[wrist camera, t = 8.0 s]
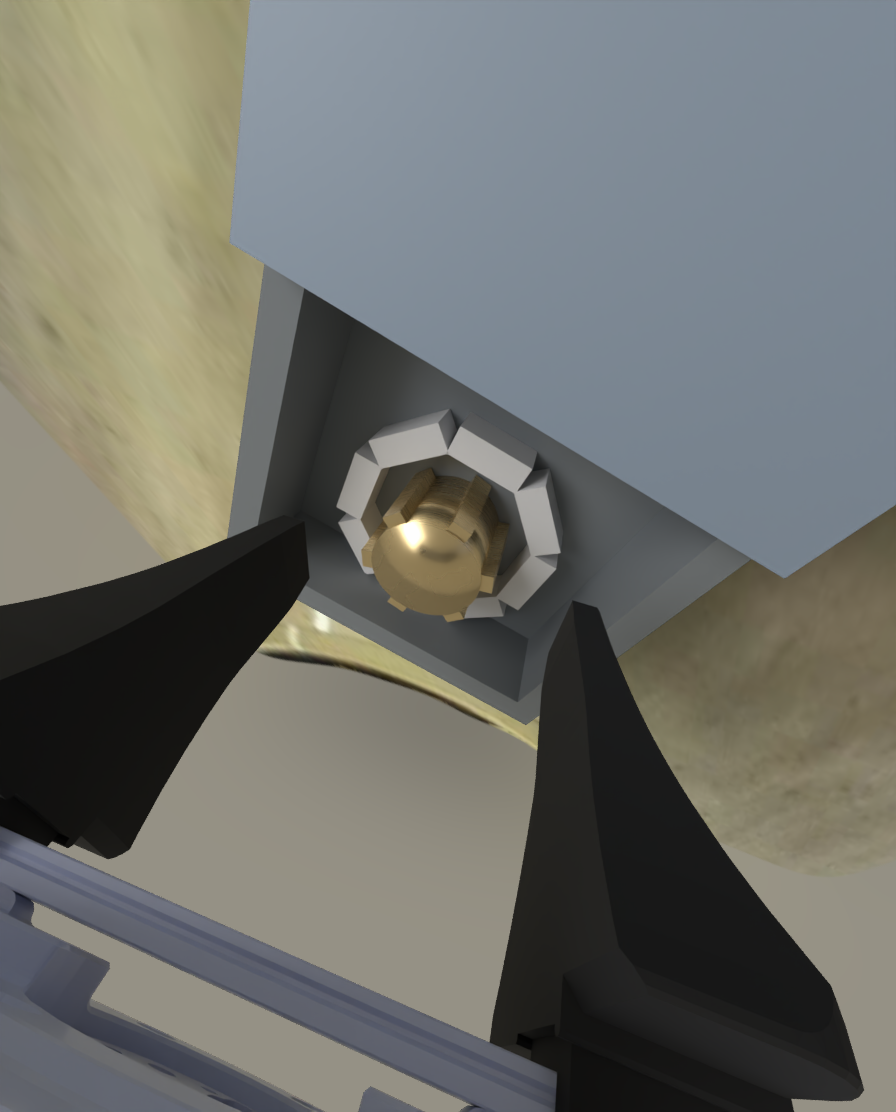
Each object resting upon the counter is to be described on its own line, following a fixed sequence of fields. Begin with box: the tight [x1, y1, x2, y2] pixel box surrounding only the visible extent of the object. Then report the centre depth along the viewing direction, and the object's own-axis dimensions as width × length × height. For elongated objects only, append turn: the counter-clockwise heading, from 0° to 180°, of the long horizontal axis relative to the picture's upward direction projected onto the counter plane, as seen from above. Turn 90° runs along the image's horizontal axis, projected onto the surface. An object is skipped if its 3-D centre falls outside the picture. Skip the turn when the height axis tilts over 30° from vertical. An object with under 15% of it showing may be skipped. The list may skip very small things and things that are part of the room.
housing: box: [227, 264, 751, 725], centre depth 17 cm, size 16×16×5 cm
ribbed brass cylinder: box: [361, 468, 509, 622], centre depth 18 cm, size 5×5×4 cm
